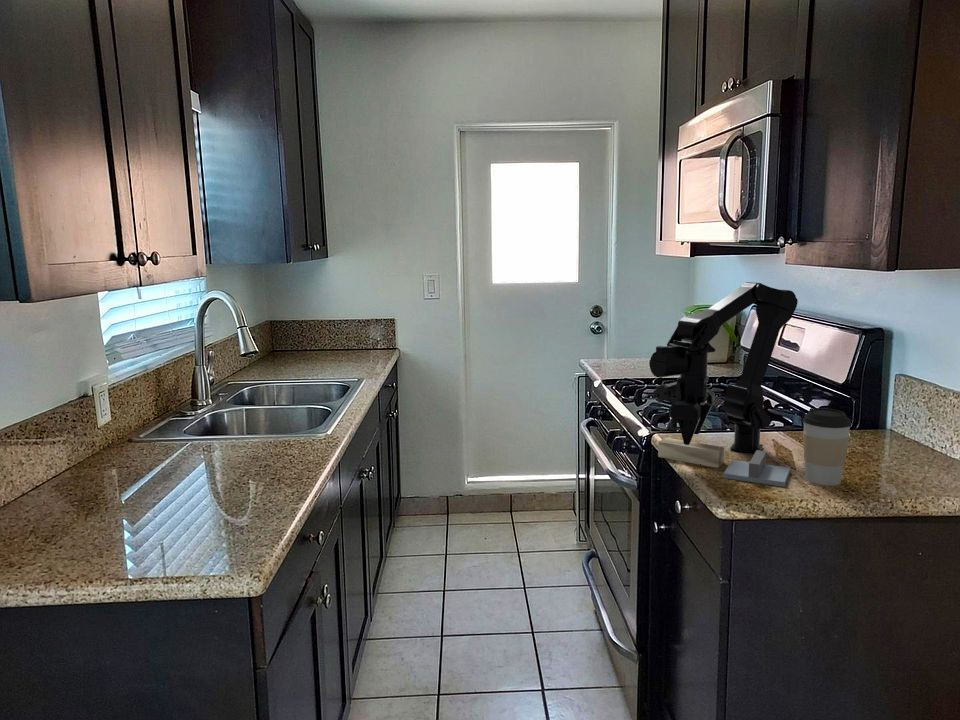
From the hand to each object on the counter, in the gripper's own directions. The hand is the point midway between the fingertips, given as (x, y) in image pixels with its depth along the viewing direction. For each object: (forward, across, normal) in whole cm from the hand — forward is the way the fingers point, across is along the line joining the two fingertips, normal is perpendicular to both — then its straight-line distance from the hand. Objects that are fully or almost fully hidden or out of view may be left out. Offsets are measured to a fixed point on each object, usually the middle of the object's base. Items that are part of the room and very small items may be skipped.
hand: (691, 439), depth 156 cm
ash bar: (+5, 0, 0) cm, 5 cm away
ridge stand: (+5, +4, +15) cm, 16 cm away
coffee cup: (+5, +1, +27) cm, 28 cm away
